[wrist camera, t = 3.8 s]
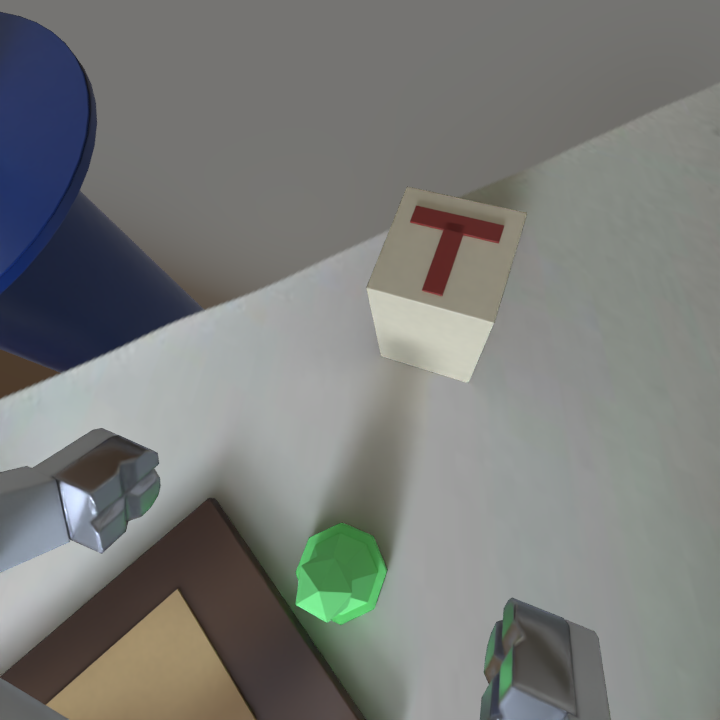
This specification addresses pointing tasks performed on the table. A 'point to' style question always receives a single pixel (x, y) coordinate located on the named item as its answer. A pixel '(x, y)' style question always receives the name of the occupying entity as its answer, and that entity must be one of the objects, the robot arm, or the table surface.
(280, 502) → the table surface
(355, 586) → the game piece
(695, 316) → the table surface
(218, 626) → the brown board
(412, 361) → the letter block
